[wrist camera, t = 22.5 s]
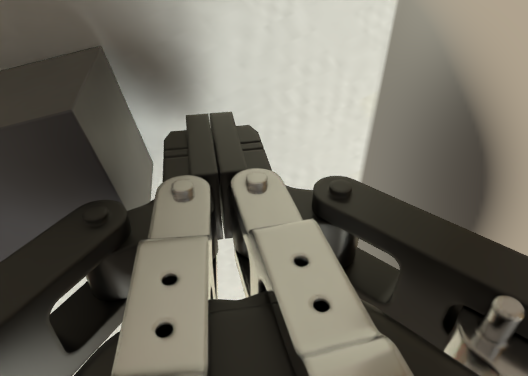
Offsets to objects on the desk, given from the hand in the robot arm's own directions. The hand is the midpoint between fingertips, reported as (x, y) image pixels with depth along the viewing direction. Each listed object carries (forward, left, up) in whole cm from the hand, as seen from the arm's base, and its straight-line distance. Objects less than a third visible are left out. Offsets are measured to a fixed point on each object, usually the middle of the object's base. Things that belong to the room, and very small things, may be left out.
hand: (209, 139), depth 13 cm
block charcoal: (0, -5, -1) cm, 5 cm away
